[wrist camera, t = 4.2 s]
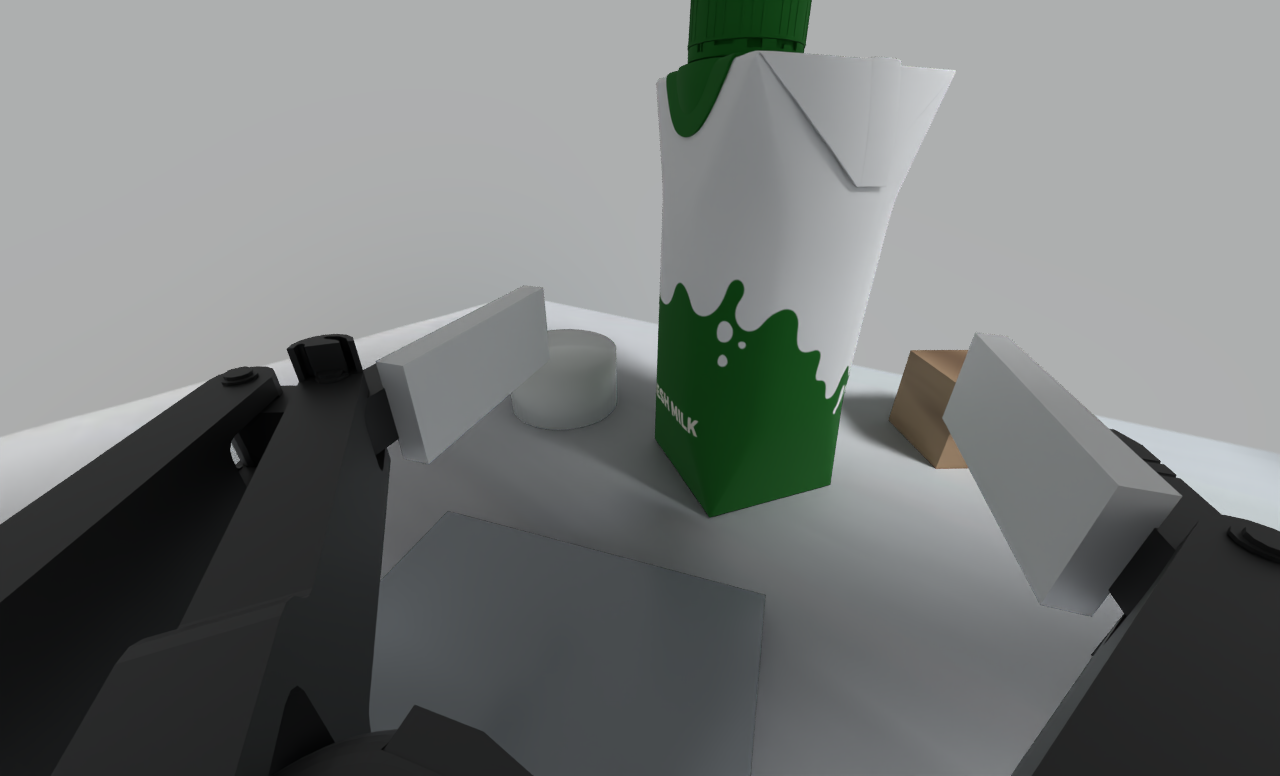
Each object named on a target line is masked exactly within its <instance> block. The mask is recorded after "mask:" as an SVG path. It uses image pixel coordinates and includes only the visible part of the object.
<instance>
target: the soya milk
mask: <svg viewBox="0 0 1280 776" xmlns="http://www.w3.org/2000/svg"><path fill="white" fill-rule="evenodd" d="M811 2H812V0H691V9H690V26H689V42H688V64H686V65H683V66H681V67H680V68H679V70H678V71H675V72H672V73H669V74H668V76H667V77H665V78H660V79H659V80H658V81H657V83H656V86H657V102H658V117H659V132H660V147H661V164H662V183H663V209H662V212H663V213H662V242H661V272H660V301H659V329H658V358H657V385H656V419H655V439H656V441H657V442H658V444H659V445H660V447H661V448H662V449H663V451H664V452H665V454H666V455H667V457H668V458H669V460H670V461H671V462H672V464H673V465H674V467H675V468H676V470H677V471H678V473H679V474H680V475H681V477H682V478H683V480H684V481H685V483H686V484H687V486H688V487H689V489H690V490H691V491H692V493H693V494H694V496H695V497H696V499H697V500H698V502H699V503H700V504H701V506H702V507H703V509H704V510H705V512H706V513H707V515H708V516H709V517H714V516H717V515H721V514H725V513H728V512H732V511H736V510H739V509H743V508H747V507H750V506H754V505H758V504H761V503H765V502H769V501H772V500H776V499H780V498H783V497H787V496H791V495H794V494H798V493H802V492H805V491H809V490H813V489H816V488H820V487H824V486H827V485H830V483H831V476H832V469H833V462H834V455H835V448H836V442H837V435H838V428H839V421H840V414H841V407H842V402H843V397H844V393H845V389H846V385H847V381H848V377H849V373H850V369H851V365H852V361H853V357H854V354H855V350H856V346H857V342H858V338H859V334H860V330H861V326H862V322H863V319H864V315H865V311H866V307H867V303H868V299H869V295H870V292H871V288H872V283H873V280H874V276H875V272H876V268H877V265H878V261H879V257H880V253H881V249H882V245H883V241H884V237H885V234H886V230H887V226H888V223H889V219H890V215H891V212H892V208H893V205H894V203H895V200H896V197H897V195H898V192H899V190H900V188H901V186H902V184H903V181H904V179H905V177H906V175H907V173H908V171H909V169H910V166H911V164H912V162H913V160H914V158H915V156H916V154H917V152H918V150H919V148H920V146H921V143H922V141H923V139H924V137H925V135H926V133H927V131H928V129H929V127H930V125H931V123H932V120H933V118H934V116H935V114H936V112H937V110H938V108H939V106H940V104H941V102H942V100H943V97H944V95H945V93H946V91H947V89H948V87H949V85H950V83H951V81H952V79H953V76H954V75H955V73H956V71H955V70H945V69H935V68H923V67H912V66H901V65H902V63H901V60H899V59H896V58H888V57H871V58H856V57H844V56H832V55H819V54H805V53H804V48H805V46H806V37H807V30H808V23H809V16H810V9H811Z"/></svg>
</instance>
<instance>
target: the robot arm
mask: <svg viewBox="0 0 1280 776" xmlns="http://www.w3.org/2000/svg"><path fill="white" fill-rule="evenodd" d="M287 351H288V354H289V356H290V359H291V362H292V364H293V367H294V369H295V372H296V375H297V377H298V380H299V383H298V385H297V386H280V384H279V381H278V379H277V376H276V374H275V372H274V370H273V369H272V368H269V367H239V368H235V369H231V370H229V371H227V372H226V373H224V374H221V375H218V376H216V377H214V378H212V379H210V380H209V381H207V382H206V383H204V384H203V385H201V386H200V387H198V388H197V389H196V390H194V391H193V392H191V393H190V394H188V395H187V396H185V397H184V398H183V399H181V400H180V401H178V402H177V403H175V404H174V405H172V406H171V407H170V408H168V409H167V410H165V411H164V412H162V413H161V414H159V415H158V416H157V417H155V418H154V419H152V420H151V421H149V422H148V423H146V424H145V425H143V426H142V427H141V428H139V429H138V430H136V431H135V432H133V433H132V434H130V435H129V436H128V437H126V438H125V439H123V440H122V441H120V442H119V443H117V444H116V445H115V446H113V447H112V448H110V449H109V450H107V451H106V452H104V453H103V454H102V455H100V456H99V457H97V458H96V459H94V460H93V461H91V462H90V463H89V464H87V465H86V466H84V467H83V468H81V469H80V470H78V471H77V472H76V473H74V474H73V475H71V476H70V477H68V478H67V479H65V480H64V481H63V482H61V483H60V484H58V485H57V486H55V487H54V488H52V489H51V490H50V491H48V492H47V493H45V494H44V495H42V496H41V497H39V498H38V499H37V500H35V501H34V502H32V503H31V504H29V505H28V506H26V507H25V508H24V509H22V510H21V511H19V512H18V513H16V514H15V515H13V516H12V517H10V518H9V519H8V520H6V521H5V522H3V523H2V524H0V776H533V775H532V774H531V773H530V772H529V771H527V770H526V769H525V768H524V767H523V766H522V765H521V764H520V763H518V762H517V761H516V760H515V759H514V758H513V757H512V756H511V755H509V754H508V753H507V752H506V751H505V750H504V749H503V748H502V747H500V746H499V745H498V744H497V743H496V742H495V741H494V740H493V739H491V738H490V737H489V736H488V735H487V734H486V733H485V732H483V731H481V730H478V729H476V728H473V727H471V726H468V725H466V724H463V723H461V722H458V721H456V720H453V719H450V718H448V717H445V716H443V715H440V714H438V713H435V712H433V711H430V710H428V709H425V708H422V707H420V706H417V705H414V706H413V707H412V709H411V710H410V712H409V713H408V715H407V716H406V718H405V719H404V721H403V722H402V724H401V725H400V726H399V728H398V729H393V730H384V731H375V732H371V728H370V719H369V702H370V690H371V679H372V667H373V656H374V644H375V633H376V621H377V610H378V598H379V587H380V575H381V564H382V552H383V541H384V529H385V518H386V506H387V495H388V483H389V472H390V457H389V453H388V450H387V447H388V446H389V445H391V444H392V443H393V442H395V441H396V440H397V439H398V440H399V444H400V447H401V451H402V454H403V458H404V459H408V460H412V461H416V462H421V463H425V464H430V463H431V462H432V461H433V460H434V459H435V458H437V457H438V456H439V455H440V454H441V453H442V452H444V451H445V450H446V449H447V448H448V447H449V446H451V445H452V444H453V443H454V442H455V441H456V440H457V439H459V438H460V437H461V436H462V435H463V434H464V433H466V432H467V431H468V430H469V429H470V428H471V427H473V426H474V425H475V424H476V423H477V422H478V421H479V420H481V419H482V418H483V417H484V416H485V415H486V414H488V413H489V412H490V411H491V410H492V409H493V408H495V407H496V406H497V405H498V404H499V403H500V402H501V401H503V400H504V399H505V398H506V397H507V396H508V395H510V394H511V393H512V392H513V391H514V390H515V389H517V388H518V387H519V386H520V385H521V384H522V383H523V382H525V381H526V380H527V379H528V378H529V377H530V376H532V375H533V374H534V373H535V372H536V371H537V370H539V369H540V368H541V367H542V366H543V365H544V364H545V363H547V362H548V361H549V360H550V357H549V346H548V334H547V323H546V312H545V301H544V290H543V288H542V287H533V286H522V287H520V288H518V289H516V290H514V291H512V292H510V293H508V294H506V295H504V296H502V297H500V298H498V299H496V300H494V301H492V302H490V303H488V304H487V305H485V306H483V307H481V308H479V309H477V310H475V311H473V312H471V313H469V314H467V315H465V316H463V317H461V318H459V319H457V320H455V321H453V322H451V323H449V324H447V325H445V326H444V327H442V328H440V329H438V330H436V331H434V332H432V333H430V334H428V335H426V336H424V337H422V338H420V339H418V340H416V341H414V342H412V343H410V344H408V345H406V346H404V347H402V348H401V349H399V350H397V351H395V352H393V353H391V354H389V355H387V356H385V357H383V358H381V359H379V360H377V361H376V364H374V365H372V366H370V367H368V368H366V369H364V370H363V369H362V366H361V362H360V359H359V356H358V353H357V349H356V346H355V343H354V340H353V337H351V336H348V335H342V334H331V335H321V336H315V337H311V338H307V339H304V340H301V341H298V342H296V343H294V344H292V345H291V346H290V347H288V348H287ZM942 418H943V420H944V422H945V424H946V426H947V428H948V430H949V432H950V434H951V436H952V438H953V439H954V441H955V443H956V445H957V447H958V449H959V451H960V453H961V455H962V457H963V459H964V460H965V462H966V464H967V466H968V468H969V470H970V472H971V474H972V476H973V478H974V480H975V481H976V483H977V485H978V487H979V489H980V491H981V493H982V495H983V497H984V499H985V500H986V502H987V504H988V506H989V508H990V510H991V512H992V514H993V516H994V518H995V520H996V521H997V523H998V525H999V527H1000V529H1001V531H1002V533H1003V535H1004V537H1005V539H1006V541H1007V542H1008V544H1009V546H1010V548H1011V550H1012V552H1013V554H1014V556H1015V558H1016V560H1017V562H1018V563H1019V565H1020V567H1021V569H1022V571H1023V573H1024V575H1025V577H1026V579H1027V581H1028V582H1029V584H1030V586H1031V588H1032V590H1033V592H1034V594H1035V596H1036V598H1037V600H1038V602H1039V603H1040V605H1043V606H1047V607H1052V608H1056V609H1060V610H1065V611H1069V612H1073V613H1078V614H1082V615H1086V616H1091V617H1092V616H1093V614H1094V613H1095V612H1096V610H1097V609H1098V608H1099V606H1100V605H1101V604H1102V602H1103V601H1104V600H1105V598H1106V597H1107V596H1108V594H1109V593H1111V595H1112V596H1113V598H1114V599H1115V601H1116V602H1117V603H1118V605H1119V606H1120V608H1121V609H1122V611H1123V612H1124V614H1123V616H1122V617H1121V618H1120V619H1119V621H1118V622H1117V623H1116V624H1115V626H1114V627H1113V628H1112V629H1111V631H1110V632H1109V633H1108V634H1107V636H1106V637H1105V638H1104V639H1103V641H1102V642H1101V643H1100V644H1099V646H1098V647H1097V648H1096V649H1095V650H1094V652H1093V653H1092V654H1091V655H1092V656H1093V657H1092V659H1091V660H1090V662H1089V663H1088V664H1087V666H1086V667H1085V669H1084V670H1083V672H1082V673H1081V675H1080V676H1079V677H1078V679H1077V680H1076V682H1075V683H1074V685H1073V686H1072V688H1071V689H1070V691H1069V692H1068V693H1067V695H1066V696H1065V698H1064V699H1063V701H1062V702H1061V704H1060V705H1059V706H1058V708H1057V709H1056V711H1055V712H1054V714H1053V715H1052V717H1051V718H1050V720H1049V721H1048V722H1047V724H1046V725H1045V727H1044V728H1043V730H1042V731H1041V733H1040V734H1039V735H1038V737H1037V738H1036V740H1035V741H1034V743H1033V744H1032V746H1031V747H1030V749H1029V750H1028V751H1027V753H1026V754H1025V756H1024V757H1023V759H1022V760H1021V762H1020V763H1019V764H1018V766H1017V767H1016V769H1015V770H1014V772H1013V773H1012V775H1011V776H1280V531H1277V530H1275V529H1272V528H1270V527H1267V526H1264V525H1261V524H1258V523H1255V522H1252V521H1249V520H1245V519H1241V518H1236V517H1232V516H1227V515H1221V514H1220V513H1219V512H1218V511H1217V510H1216V509H1215V508H1213V507H1212V506H1211V505H1210V504H1209V503H1208V502H1207V501H1205V500H1204V499H1203V498H1202V497H1201V496H1200V495H1199V494H1197V493H1196V492H1195V491H1194V490H1193V489H1192V488H1191V487H1189V486H1188V485H1187V484H1186V483H1185V482H1184V481H1183V480H1181V479H1180V478H1176V474H1175V473H1173V472H1172V471H1171V470H1170V469H1169V468H1168V467H1167V466H1165V465H1164V464H1160V462H1161V461H1160V460H1159V459H1157V458H1156V457H1155V456H1154V455H1153V454H1152V453H1151V452H1149V451H1148V450H1147V449H1146V448H1145V447H1144V446H1143V445H1141V444H1139V443H1137V442H1136V441H1134V440H1132V439H1130V438H1129V437H1127V436H1125V435H1123V434H1121V433H1120V432H1118V431H1116V430H1113V429H1109V428H1107V427H1106V426H1105V425H1104V424H1103V423H1102V422H1101V421H1100V420H1099V419H1098V418H1097V417H1095V416H1094V415H1093V414H1092V413H1091V412H1090V411H1089V410H1088V409H1087V408H1086V407H1085V406H1083V405H1082V404H1081V403H1080V402H1079V401H1078V400H1077V399H1076V398H1075V397H1074V396H1073V395H1071V394H1070V393H1069V392H1068V391H1067V390H1066V389H1065V388H1064V387H1063V386H1062V385H1061V384H1059V383H1058V382H1057V381H1056V380H1055V379H1054V378H1053V377H1052V376H1051V375H1050V374H1048V373H1047V372H1046V371H1045V370H1044V369H1043V368H1042V367H1041V366H1040V365H1039V364H1037V362H1035V361H1034V360H1033V359H1032V358H1031V357H1030V356H1029V355H1028V354H1027V353H1026V352H1024V351H1023V350H1022V349H1021V348H1020V347H1019V346H1018V345H1017V344H1016V343H1015V342H1014V341H1013V340H1011V339H1010V338H1009V337H1008V336H1003V335H993V334H984V333H975V334H974V337H973V340H972V342H971V345H970V348H969V350H968V353H967V355H966V358H965V360H964V363H963V366H962V368H961V371H960V373H959V376H958V379H957V381H956V384H955V386H954V389H953V391H952V394H951V397H950V399H949V402H948V404H947V407H946V410H945V412H944V415H943V417H942ZM231 443H232V445H233V447H234V449H235V451H236V453H237V455H238V457H239V459H240V461H239V462H238V463H237V464H236V465H235V463H234V461H233V459H232V456H231V452H230V447H231Z"/></svg>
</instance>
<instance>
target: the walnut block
mask: <svg viewBox="0 0 1280 776" xmlns="http://www.w3.org/2000/svg"><path fill="white" fill-rule="evenodd" d="M967 353H968V350H917V351H916V350H912V351H910V355H909V357H908V361H907V364H906V367H905V370H904V373H903V376H902V379H901V382H900V386H899V389H898V392H897V395H896V398H895V401H894V404H893V407H892V411H891V414H890V417H889V421H890V422H891V423H892V424H893V425H894V426H895V427H896V428H897V430H898V431H899V432H900V433H901V434H902V435H903V436H904V437H905V438H906V439H907V440H908V441H909V442H910V443H911V444H912V445H913V446H914V447H915V448H916V449H917V450H918V451H919V452H920V453H921V454H922V455H923V456H924V457H925V458H926V459H927V460H928V461H929V462H930V463H931V464H932V466H933V467H934V468H935V469H956V468H968V466H967V464H966V462H965V460H964V459H963V457H962V455H961V453H960V451H959V449H958V447H957V445H956V443H955V441H954V439H953V438H952V436H951V434H950V432H949V430H948V428H947V426H946V424H945V422H944V420H943V418H942V417H943V415H944V412H945V410H946V407H947V404H948V402H949V399H950V397H951V394H952V391H953V389H954V386H955V384H956V381H957V379H958V376H959V373H960V371H961V368H962V366H963V363H964V360H965V358H966V355H967Z"/></svg>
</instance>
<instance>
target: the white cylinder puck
mask: <svg viewBox="0 0 1280 776" xmlns="http://www.w3.org/2000/svg"><path fill="white" fill-rule="evenodd" d="M547 334H548V346H549V357H550V360H549V361H548V362H547V363H545V364H544V365H543V366H542V367H541V368H540V369H539V370H537V371H536V372H535V373H534V374H533V375H532V376H530V377H529V378H528V379H527V380H526V381H525V382H523V383H522V384H521V385H520V386H519V387H518V388H517V389H515V390H514V391H513V392H512V393H511V399H512V406H513V411H514V414H515V415H516V417H517V418H519V419H520V420H521V421H523V422H524V423H526V424H528V425H531V426H534V427H538V428H542V429H550V430H567V429H576V428H581V427H585V426H588V425H591V424H594V423H596V422H599V421H601V420H602V419H604V418H606V417H607V416H608V415H609V414H611V412H612V411H613V410H614V409H615V407H616V404H617V375H616V345H615V344H614V342H613V341H612V340H611V339H609V338H608V337H606V336H604V335H601V334H598V333H595V332H591V331H585V330H574V329H561V330H550V331H547Z"/></svg>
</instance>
